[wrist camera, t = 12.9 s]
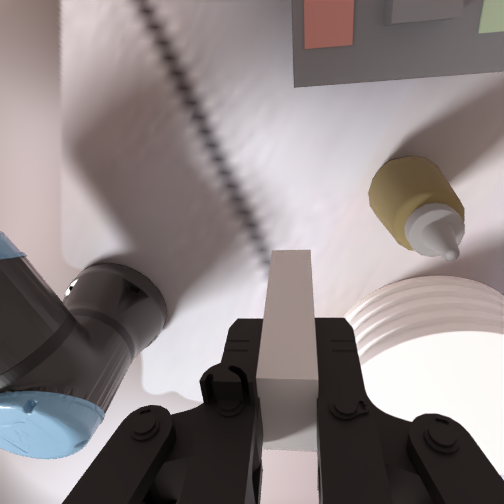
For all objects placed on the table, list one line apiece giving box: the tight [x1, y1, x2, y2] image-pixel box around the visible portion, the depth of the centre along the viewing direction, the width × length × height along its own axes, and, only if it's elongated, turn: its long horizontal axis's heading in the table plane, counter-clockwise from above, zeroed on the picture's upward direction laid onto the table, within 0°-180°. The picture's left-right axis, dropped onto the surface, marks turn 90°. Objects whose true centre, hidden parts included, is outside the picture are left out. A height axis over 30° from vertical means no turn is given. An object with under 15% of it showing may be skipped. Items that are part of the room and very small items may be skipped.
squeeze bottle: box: [368, 156, 465, 261], centre depth 37 cm, size 8×8×18 cm
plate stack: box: [343, 276, 504, 475], centre depth 53 cm, size 28×28×12 cm
